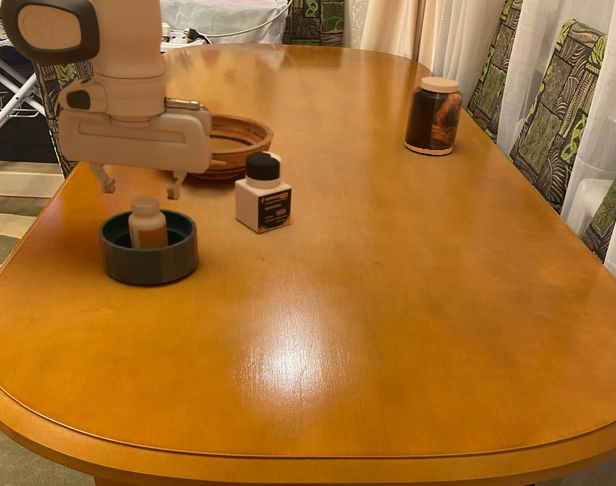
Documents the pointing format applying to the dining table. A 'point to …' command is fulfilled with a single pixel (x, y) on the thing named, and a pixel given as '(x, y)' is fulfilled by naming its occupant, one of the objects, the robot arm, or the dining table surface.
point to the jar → (434, 114)
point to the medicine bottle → (263, 194)
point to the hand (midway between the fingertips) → (141, 195)
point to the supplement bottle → (147, 224)
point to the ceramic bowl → (234, 144)
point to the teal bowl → (149, 250)
